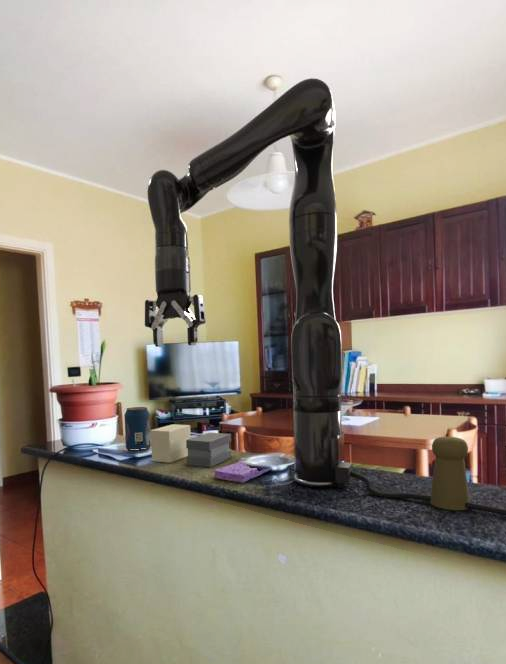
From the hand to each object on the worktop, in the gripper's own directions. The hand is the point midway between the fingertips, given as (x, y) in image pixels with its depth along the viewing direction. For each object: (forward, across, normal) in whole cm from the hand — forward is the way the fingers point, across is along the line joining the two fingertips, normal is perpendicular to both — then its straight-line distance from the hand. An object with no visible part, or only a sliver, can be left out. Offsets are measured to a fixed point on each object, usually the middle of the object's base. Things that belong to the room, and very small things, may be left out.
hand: (175, 345), depth 94 cm
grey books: (+28, +1, +12) cm, 31 cm away
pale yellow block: (+23, -10, +12) cm, 28 cm away
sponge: (+28, +14, +4) cm, 32 cm away
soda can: (+28, -24, +16) cm, 40 cm away
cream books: (+28, -10, +12) cm, 32 cm away
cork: (+28, +53, -1) cm, 60 cm away
